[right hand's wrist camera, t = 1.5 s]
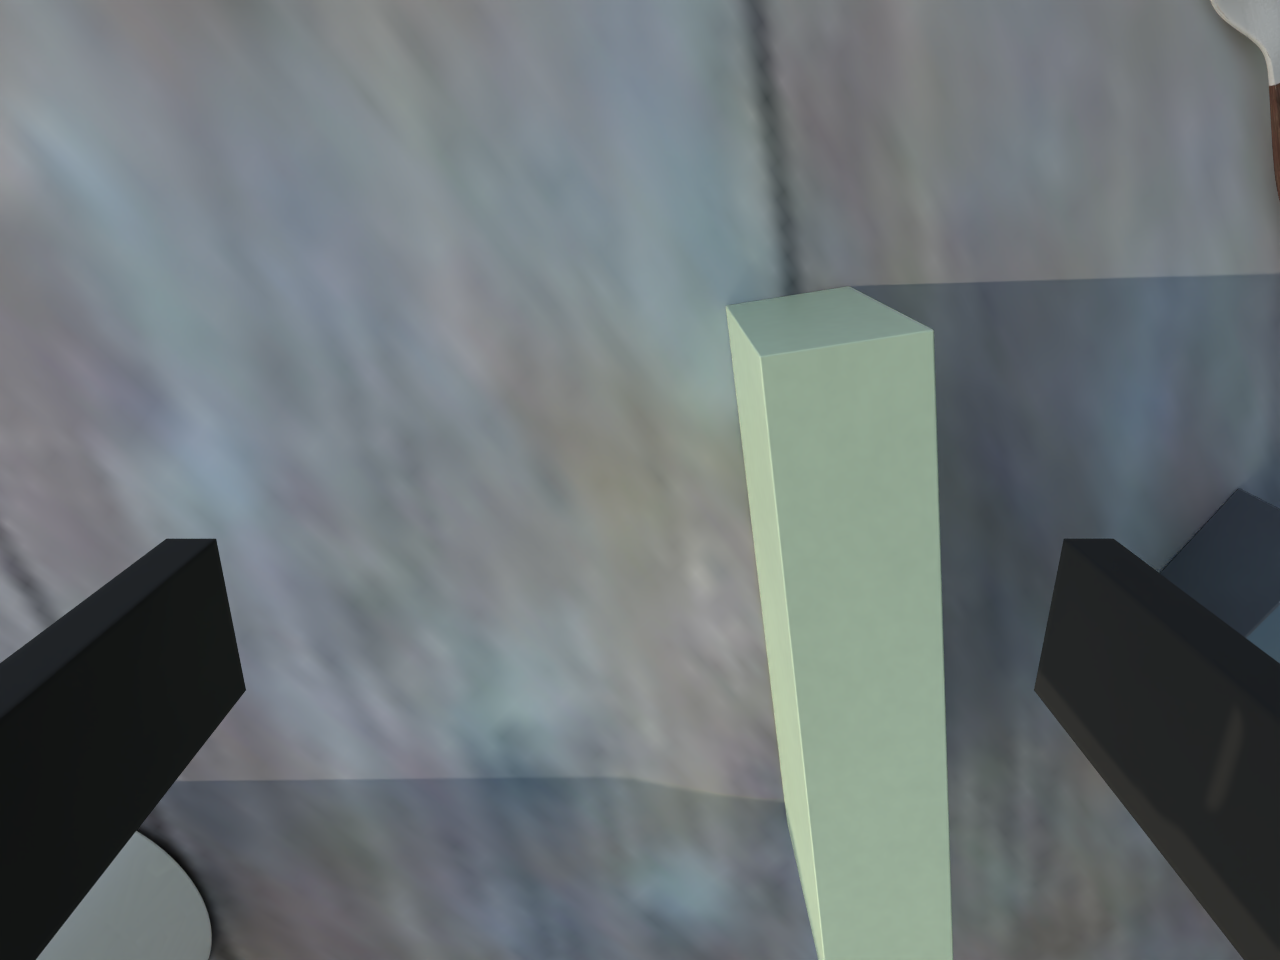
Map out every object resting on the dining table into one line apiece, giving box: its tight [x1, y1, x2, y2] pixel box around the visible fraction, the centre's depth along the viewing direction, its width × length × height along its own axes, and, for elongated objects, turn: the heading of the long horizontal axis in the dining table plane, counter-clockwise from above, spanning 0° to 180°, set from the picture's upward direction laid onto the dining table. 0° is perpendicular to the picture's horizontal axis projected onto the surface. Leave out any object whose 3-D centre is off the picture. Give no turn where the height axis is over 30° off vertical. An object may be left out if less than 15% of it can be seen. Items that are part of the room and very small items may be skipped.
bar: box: [726, 286, 953, 960], centre depth 29 cm, size 24×4×9 cm, turn 9°
